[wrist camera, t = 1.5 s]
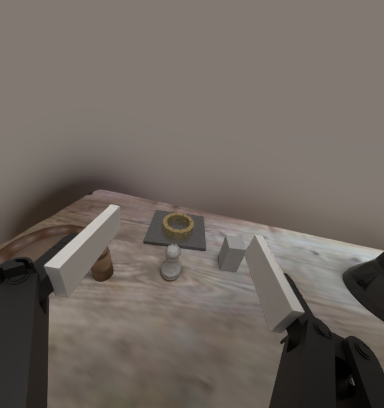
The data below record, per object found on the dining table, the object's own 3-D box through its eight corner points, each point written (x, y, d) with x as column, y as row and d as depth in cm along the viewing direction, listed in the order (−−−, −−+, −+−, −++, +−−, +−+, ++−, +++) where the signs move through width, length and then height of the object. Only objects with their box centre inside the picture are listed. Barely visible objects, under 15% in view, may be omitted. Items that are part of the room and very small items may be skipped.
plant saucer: (99, 226, 43) (97, 218, 42) (101, 279, 30) (99, 270, 29) (11, 242, 35) (4, 232, 33) (-37, 325, 22) (-51, 316, 20)
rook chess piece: (184, 271, 35) (188, 247, 31) (171, 285, 31) (174, 261, 27) (169, 260, 36) (172, 237, 32) (156, 273, 33) (157, 248, 29)
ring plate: (203, 218, 54) (204, 212, 52) (205, 251, 41) (207, 243, 39) (156, 212, 53) (156, 205, 51) (143, 243, 40) (143, 235, 38)
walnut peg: (112, 263, 34) (106, 234, 29) (114, 277, 31) (108, 247, 26) (93, 269, 32) (84, 239, 27) (94, 284, 29) (84, 254, 25)
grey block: (232, 258, 40) (241, 237, 36) (235, 272, 37) (246, 250, 32) (218, 257, 40) (225, 235, 36) (220, 270, 36) (229, 247, 32)
